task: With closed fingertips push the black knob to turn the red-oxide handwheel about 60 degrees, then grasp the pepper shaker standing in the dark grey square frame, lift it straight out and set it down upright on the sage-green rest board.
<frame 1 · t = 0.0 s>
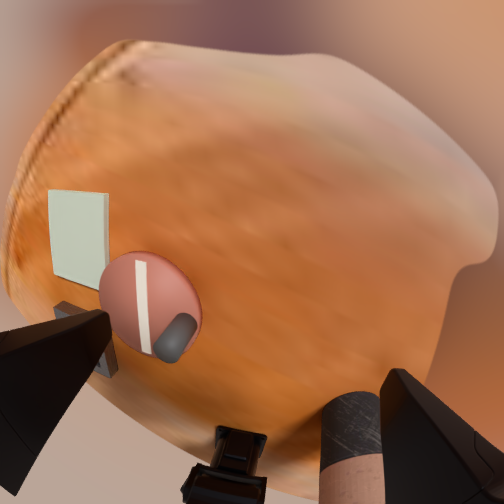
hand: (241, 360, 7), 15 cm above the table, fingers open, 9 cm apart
travel mug: (351, 409, 26), on the table
rest board: (78, 237, 25), on the table
handwheel: (135, 319, 20), point 5 cm above the table, hinge at 0.0°
dark grey square frame: (89, 336, 29), on the table
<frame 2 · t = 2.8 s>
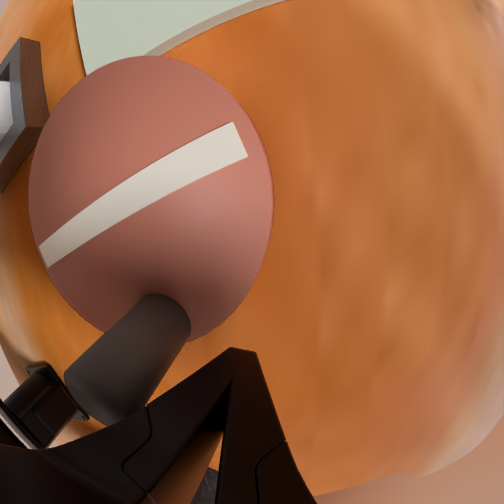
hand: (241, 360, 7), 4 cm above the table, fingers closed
travel mug: (195, 474, 19), on the table
pepper shaker: (15, 117, 11), resting in dark grey square frame
handwheel: (80, 218, 6), point 5 cm above the table, hinge at 0.3°, touching gripper
dark grey square frame: (13, 117, 11), on the table
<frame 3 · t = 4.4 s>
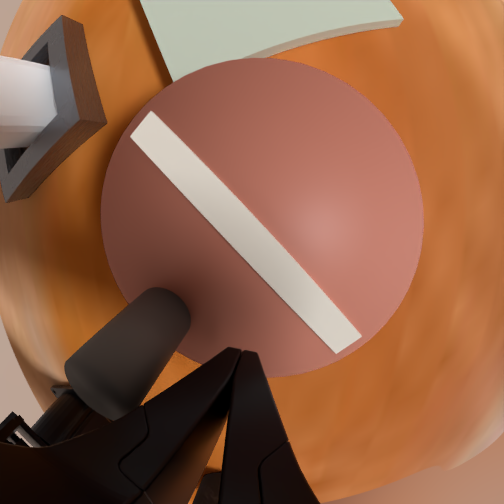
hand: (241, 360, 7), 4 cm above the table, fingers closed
travel mug: (239, 485, 18), on the table
pepper shaker: (49, 109, 11), resting in dark grey square frame
handwheel: (237, 250, 6), point 5 cm above the table, hinge at 69.1°
dark grey square frame: (46, 109, 10), on the table
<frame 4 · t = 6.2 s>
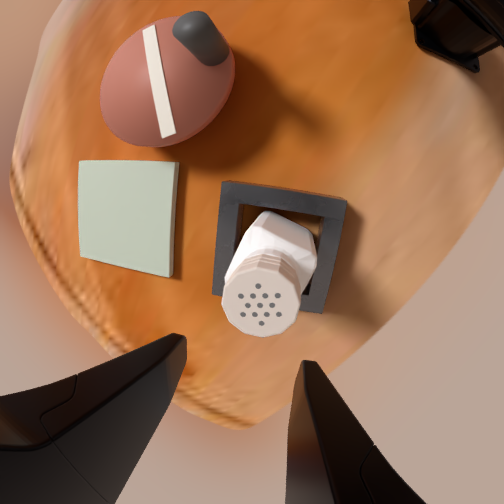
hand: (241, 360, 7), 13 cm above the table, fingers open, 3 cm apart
rest board: (123, 213, 21), on the table
pepper shaker: (277, 242, 20), resting in dark grey square frame
handwheel: (146, 69, 13), point 5 cm above the table, hinge at 69.1°
dark grey square frame: (277, 243, 20), on the table
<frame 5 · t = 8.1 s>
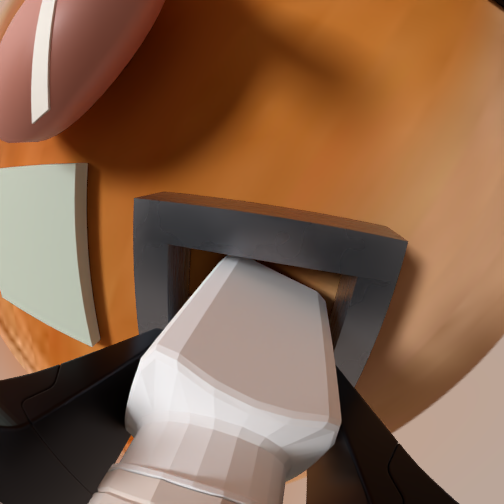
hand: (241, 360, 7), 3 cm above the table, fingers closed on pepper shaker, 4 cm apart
rest board: (32, 245, 12), on the table
pepper shaker: (258, 308, 10), resting in dark grey square frame, touching gripper
handwheel: (21, 15, 3), point 5 cm above the table, hinge at 69.1°
dark grey square frame: (257, 311, 10), on the table
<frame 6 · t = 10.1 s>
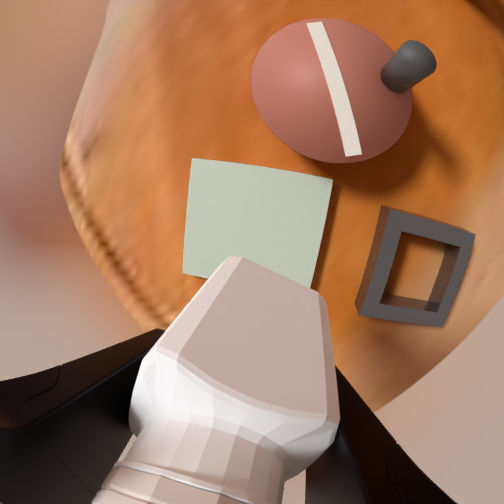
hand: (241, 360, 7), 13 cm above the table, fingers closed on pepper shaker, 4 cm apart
rest board: (253, 227, 20), on the table
pepper shaker: (260, 309, 10), point 10 cm above the table, touching gripper
handwheel: (338, 75, 12), point 5 cm above the table, hinge at 69.1°
dark grey square frame: (413, 265, 19), on the table
when the fingers open (5 cm above the table, at t = 12.1 s): pepper shaker stays where it is, resting on rest board.
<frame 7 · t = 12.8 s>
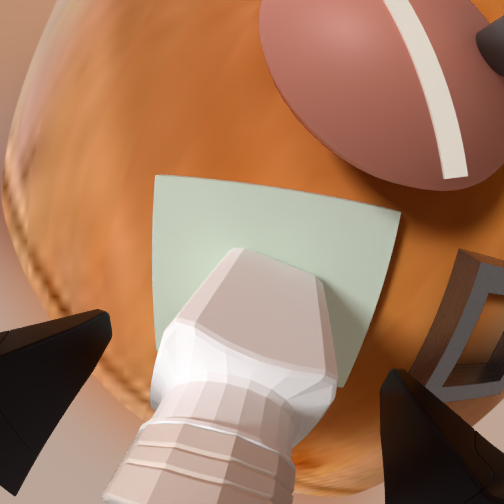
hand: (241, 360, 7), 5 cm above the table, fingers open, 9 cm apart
rest board: (262, 289, 12), on the table
pepper shaker: (263, 296, 11), point 1 cm above the table, touching rest board
handwheel: (433, 23, 4), point 5 cm above the table, hinge at 69.1°
dark grey square frame: (481, 326, 11), on the table
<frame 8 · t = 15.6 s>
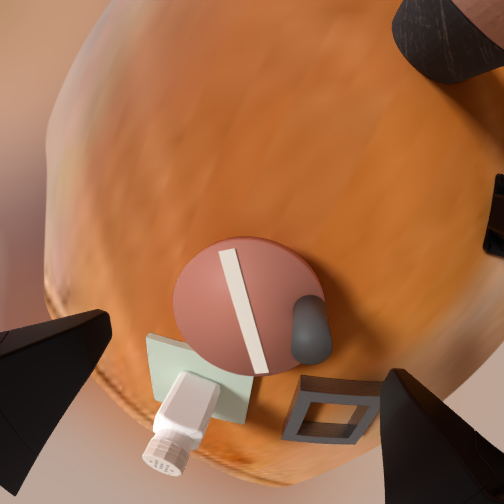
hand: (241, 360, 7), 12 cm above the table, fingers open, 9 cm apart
travel mug: (431, 45, 12), on the table
rest board: (199, 381, 24), on the table
pepper shaker: (199, 386, 23), point 1 cm above the table, touching rest board
handwheel: (241, 330, 15), point 5 cm above the table, hinge at 69.1°
dark grey square frame: (330, 407, 22), on the table
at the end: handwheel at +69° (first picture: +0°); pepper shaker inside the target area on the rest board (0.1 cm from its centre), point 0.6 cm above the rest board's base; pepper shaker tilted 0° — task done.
